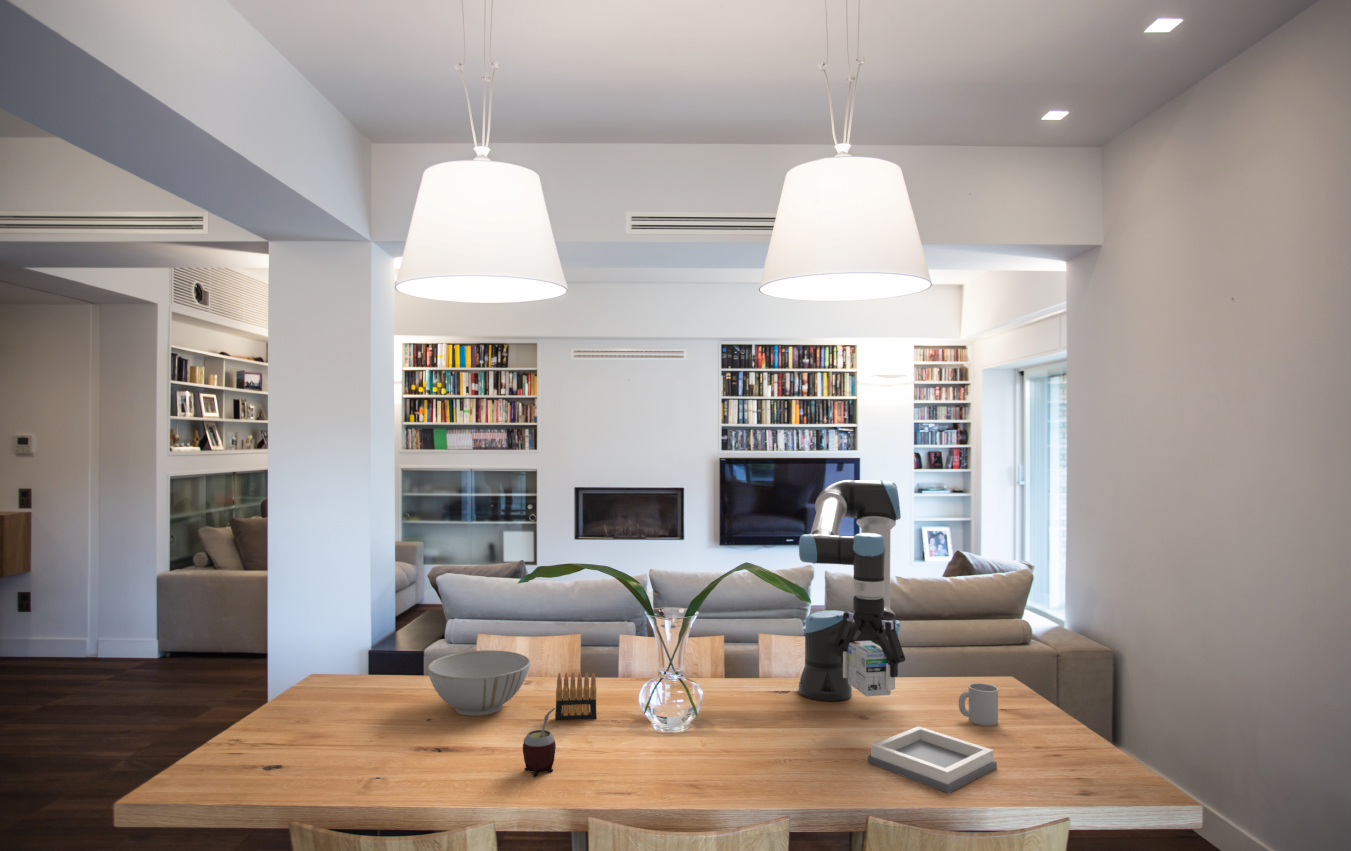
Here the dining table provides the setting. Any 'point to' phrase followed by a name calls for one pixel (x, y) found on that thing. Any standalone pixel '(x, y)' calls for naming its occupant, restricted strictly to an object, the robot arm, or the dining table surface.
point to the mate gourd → (539, 750)
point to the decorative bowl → (478, 679)
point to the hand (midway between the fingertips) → (868, 683)
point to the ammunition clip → (576, 699)
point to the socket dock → (933, 758)
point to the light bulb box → (867, 668)
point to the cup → (980, 704)
